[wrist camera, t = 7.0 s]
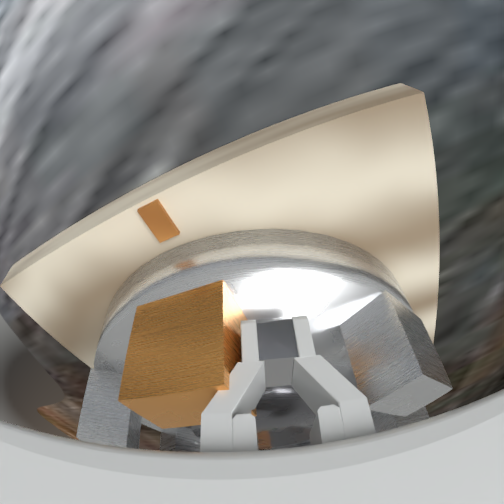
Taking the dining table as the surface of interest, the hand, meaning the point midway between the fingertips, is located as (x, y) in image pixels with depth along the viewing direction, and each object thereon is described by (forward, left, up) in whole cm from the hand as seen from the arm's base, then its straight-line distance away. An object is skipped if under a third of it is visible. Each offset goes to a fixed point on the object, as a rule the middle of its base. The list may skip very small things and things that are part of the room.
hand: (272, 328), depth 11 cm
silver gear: (-8, +3, -4) cm, 9 cm away
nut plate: (-8, +3, -7) cm, 11 cm away
